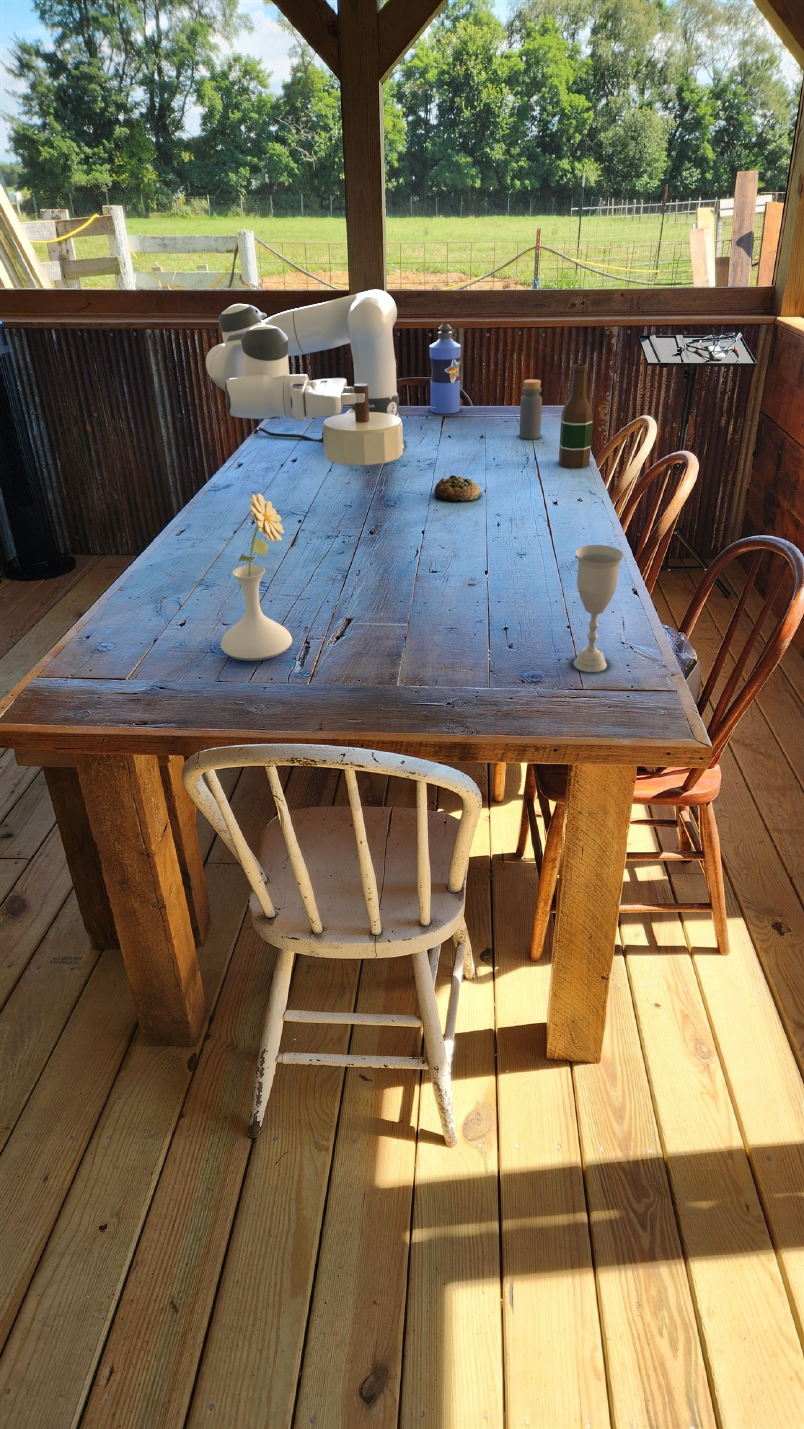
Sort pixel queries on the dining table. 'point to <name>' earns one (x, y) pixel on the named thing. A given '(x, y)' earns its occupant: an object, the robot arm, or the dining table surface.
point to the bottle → (530, 410)
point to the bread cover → (363, 435)
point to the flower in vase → (256, 597)
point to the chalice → (596, 595)
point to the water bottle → (445, 373)
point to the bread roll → (456, 489)
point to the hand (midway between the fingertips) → (365, 395)
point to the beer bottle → (576, 423)
